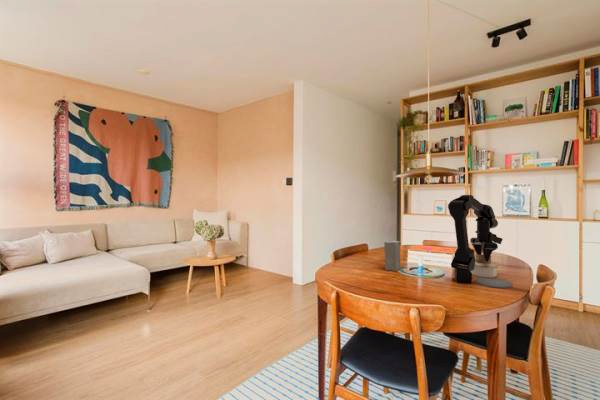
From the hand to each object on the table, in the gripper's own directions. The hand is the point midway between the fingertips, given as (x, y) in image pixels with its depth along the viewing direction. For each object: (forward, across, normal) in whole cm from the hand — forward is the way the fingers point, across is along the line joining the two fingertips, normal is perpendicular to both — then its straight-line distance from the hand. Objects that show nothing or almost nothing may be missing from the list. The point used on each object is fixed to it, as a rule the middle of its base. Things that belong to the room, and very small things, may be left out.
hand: (483, 259), depth 156 cm
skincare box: (+8, +5, +45) cm, 46 cm away
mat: (+8, -16, +2) cm, 18 cm away
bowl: (+8, 0, 0) cm, 8 cm away
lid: (+3, 0, 0) cm, 3 cm away
